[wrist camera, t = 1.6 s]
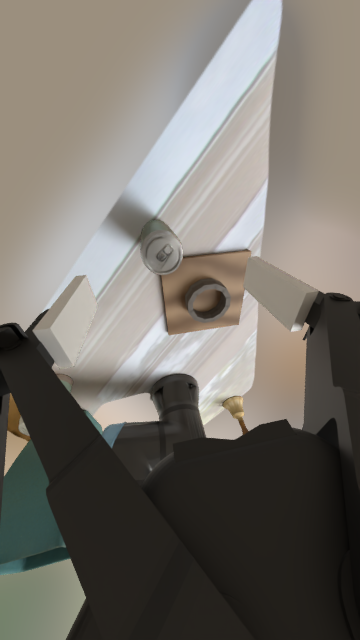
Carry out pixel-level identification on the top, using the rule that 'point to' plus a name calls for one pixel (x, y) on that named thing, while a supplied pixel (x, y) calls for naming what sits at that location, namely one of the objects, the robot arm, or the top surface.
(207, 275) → the collar holder
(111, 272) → the top surface
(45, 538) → the flower pot
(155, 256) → the beer can
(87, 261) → the top surface
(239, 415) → the hand bell
